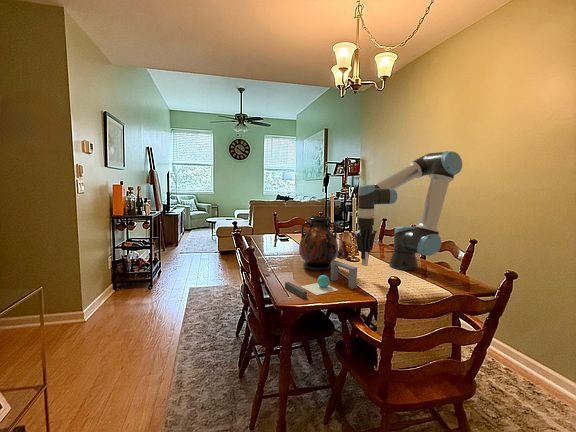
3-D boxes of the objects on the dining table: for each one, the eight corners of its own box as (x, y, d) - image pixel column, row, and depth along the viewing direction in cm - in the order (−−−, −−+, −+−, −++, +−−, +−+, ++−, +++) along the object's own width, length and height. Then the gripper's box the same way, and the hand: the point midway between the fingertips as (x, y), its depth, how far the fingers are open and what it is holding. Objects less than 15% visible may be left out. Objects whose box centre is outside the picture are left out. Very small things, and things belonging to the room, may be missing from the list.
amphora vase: (336, 263, 181) (338, 215, 178) (338, 274, 159) (340, 220, 156) (299, 261, 183) (300, 214, 180) (297, 272, 161) (298, 219, 158)
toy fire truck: (338, 259, 191) (339, 242, 190) (334, 254, 203) (334, 238, 202) (349, 259, 191) (350, 242, 190) (344, 254, 204) (345, 238, 203)
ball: (313, 277, 140) (316, 287, 141) (321, 280, 135) (323, 291, 136) (323, 271, 142) (325, 282, 144) (330, 274, 137) (333, 285, 139)
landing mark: (321, 282, 146) (321, 282, 146) (338, 290, 136) (338, 289, 136) (300, 286, 140) (300, 286, 140) (316, 295, 130) (316, 294, 130)
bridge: (335, 278, 152) (335, 260, 151) (356, 287, 140) (357, 267, 139) (330, 279, 151) (331, 261, 149) (351, 288, 138) (352, 268, 137)
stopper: (288, 287, 139) (288, 281, 138) (306, 297, 127) (306, 291, 127) (284, 287, 138) (284, 282, 137) (302, 298, 126) (302, 292, 126)
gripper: (369, 215, 155) (368, 261, 158) (350, 217, 148) (349, 265, 151) (381, 217, 149) (380, 264, 152) (361, 219, 142) (360, 269, 145)
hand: (364, 265), depth 151 cm, fingers closed
